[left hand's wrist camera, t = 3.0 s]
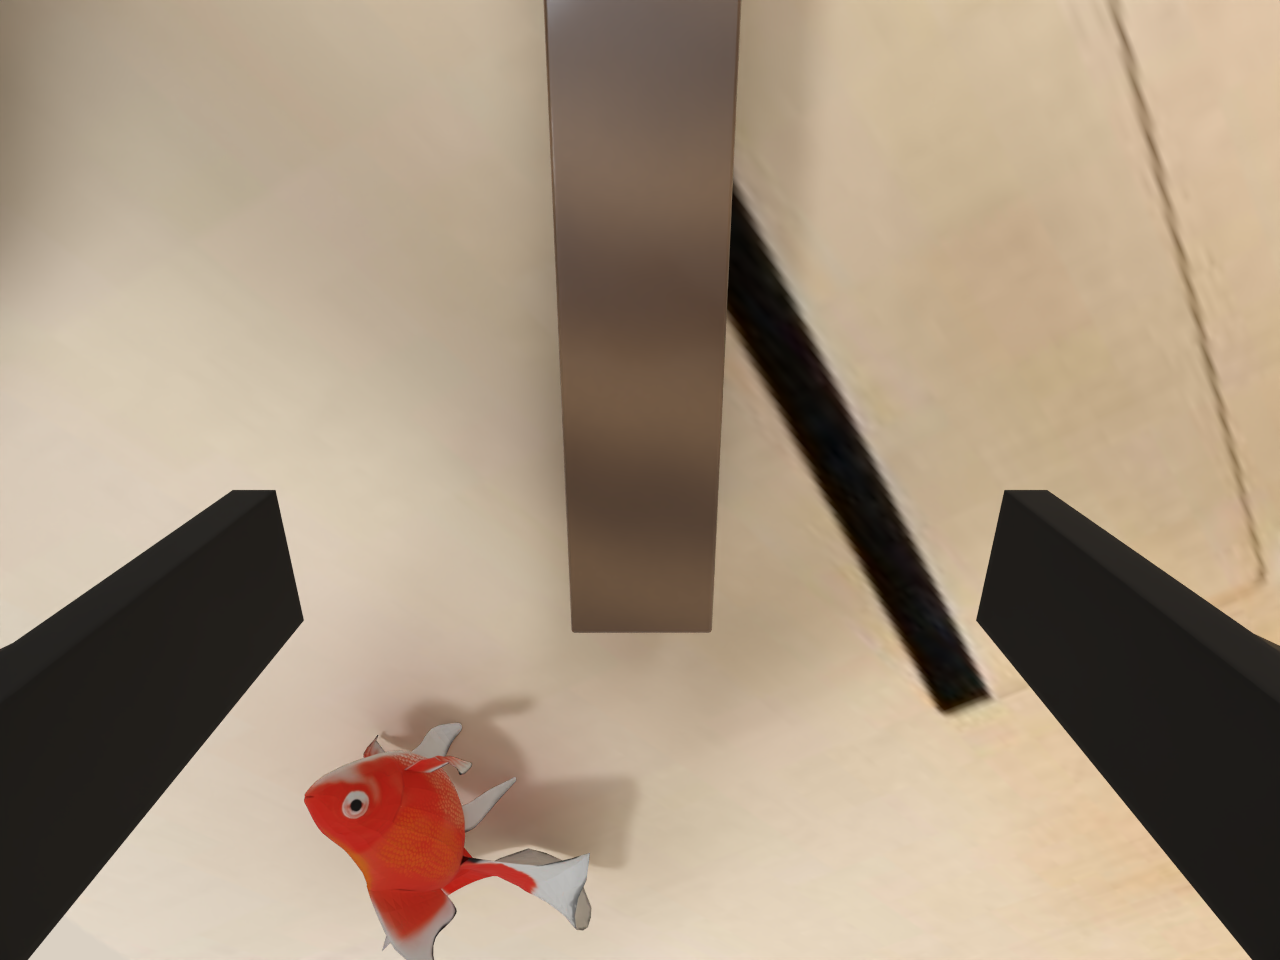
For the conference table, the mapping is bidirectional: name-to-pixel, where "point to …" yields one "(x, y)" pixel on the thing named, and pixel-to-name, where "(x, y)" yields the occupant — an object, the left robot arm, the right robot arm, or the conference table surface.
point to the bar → (642, 298)
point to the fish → (428, 841)
